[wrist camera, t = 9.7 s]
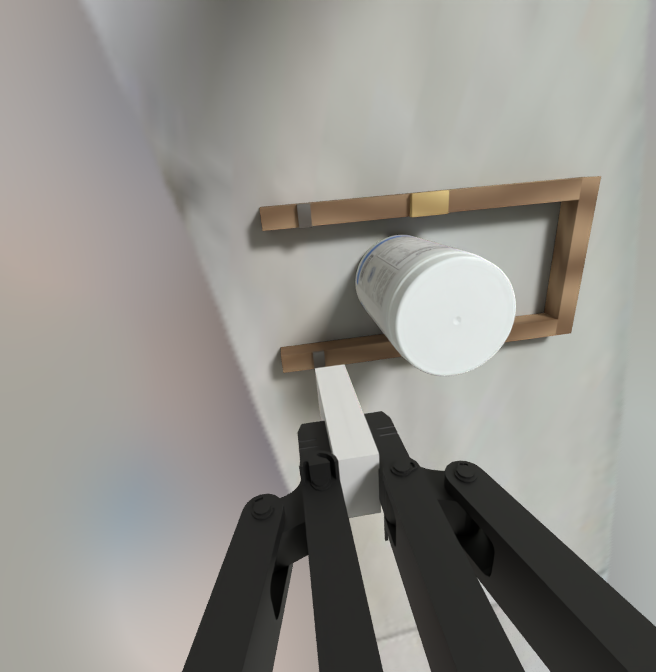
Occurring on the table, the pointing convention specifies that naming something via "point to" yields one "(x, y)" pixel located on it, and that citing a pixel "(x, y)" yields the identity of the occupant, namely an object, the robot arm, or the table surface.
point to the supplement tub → (436, 303)
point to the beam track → (569, 236)
